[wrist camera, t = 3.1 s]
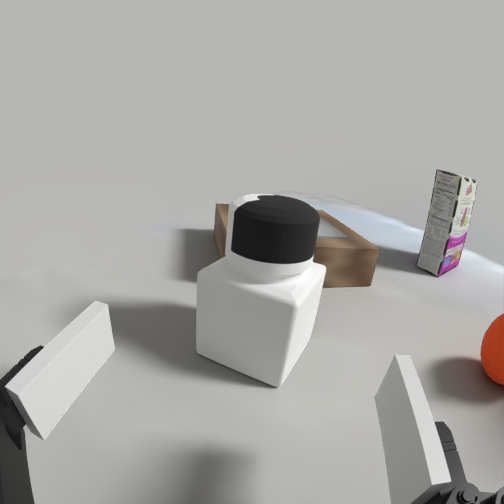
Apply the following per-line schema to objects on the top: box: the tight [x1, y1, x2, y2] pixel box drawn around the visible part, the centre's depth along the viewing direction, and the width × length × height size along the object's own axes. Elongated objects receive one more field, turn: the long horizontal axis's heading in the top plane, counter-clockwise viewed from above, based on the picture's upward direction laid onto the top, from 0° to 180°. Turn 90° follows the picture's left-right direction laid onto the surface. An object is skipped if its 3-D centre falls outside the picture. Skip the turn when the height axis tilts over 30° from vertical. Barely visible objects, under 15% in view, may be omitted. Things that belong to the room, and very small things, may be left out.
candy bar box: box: [416, 170, 478, 277], centre depth 44 cm, size 11×5×16 cm, turn 123°
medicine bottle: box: [196, 194, 326, 387], centre depth 22 cm, size 7×7×12 cm
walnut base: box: [214, 204, 380, 287], centre depth 42 cm, size 18×18×5 cm
